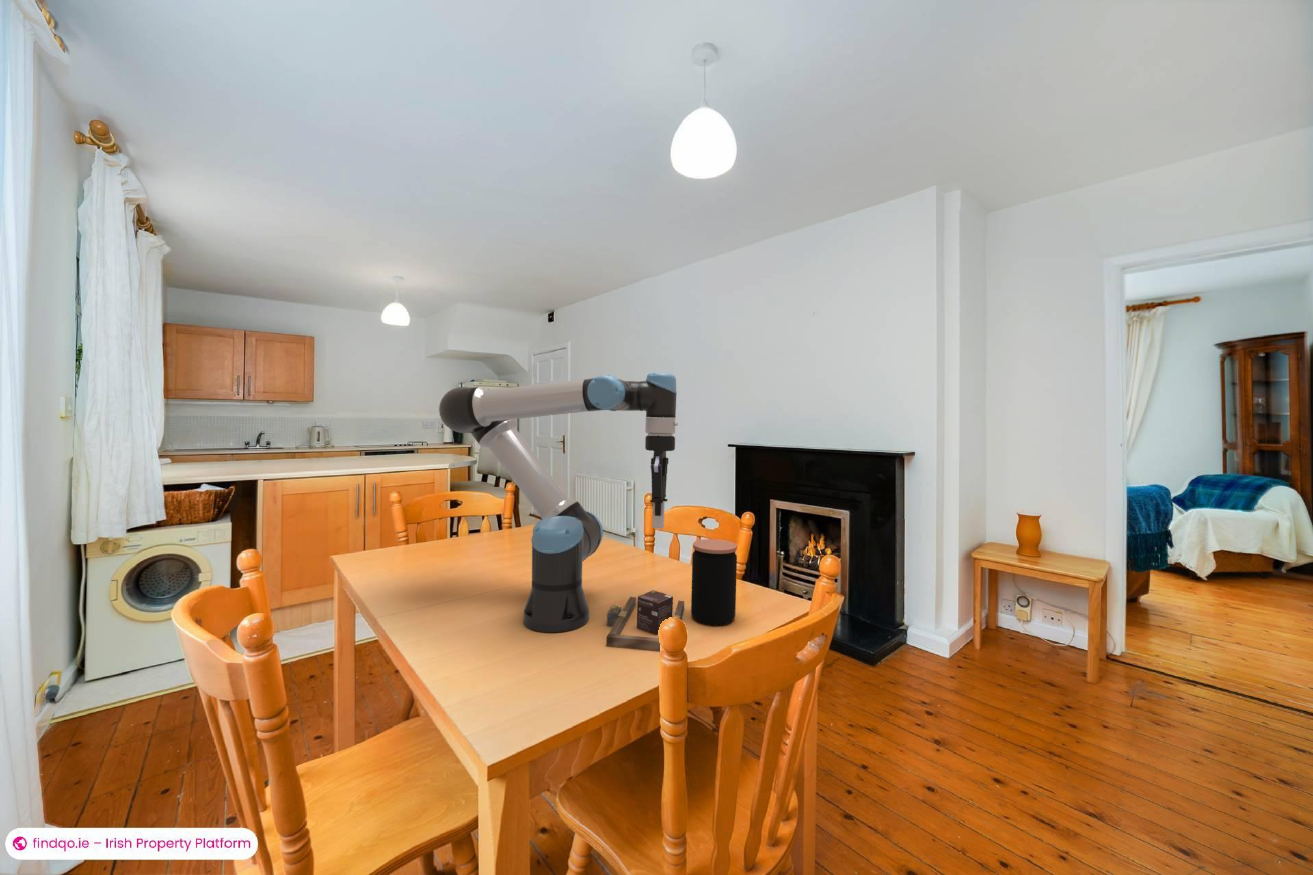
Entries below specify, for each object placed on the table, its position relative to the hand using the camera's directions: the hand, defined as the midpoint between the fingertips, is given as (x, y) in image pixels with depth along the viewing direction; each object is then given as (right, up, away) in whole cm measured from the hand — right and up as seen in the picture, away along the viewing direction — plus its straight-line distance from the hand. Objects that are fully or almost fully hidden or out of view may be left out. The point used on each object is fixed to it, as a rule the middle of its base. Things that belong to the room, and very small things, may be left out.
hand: (658, 527), depth 126 cm
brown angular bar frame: (-3, -21, -11) cm, 24 cm away
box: (-1, -21, -12) cm, 24 cm away
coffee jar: (+13, -21, -6) cm, 25 cm away
